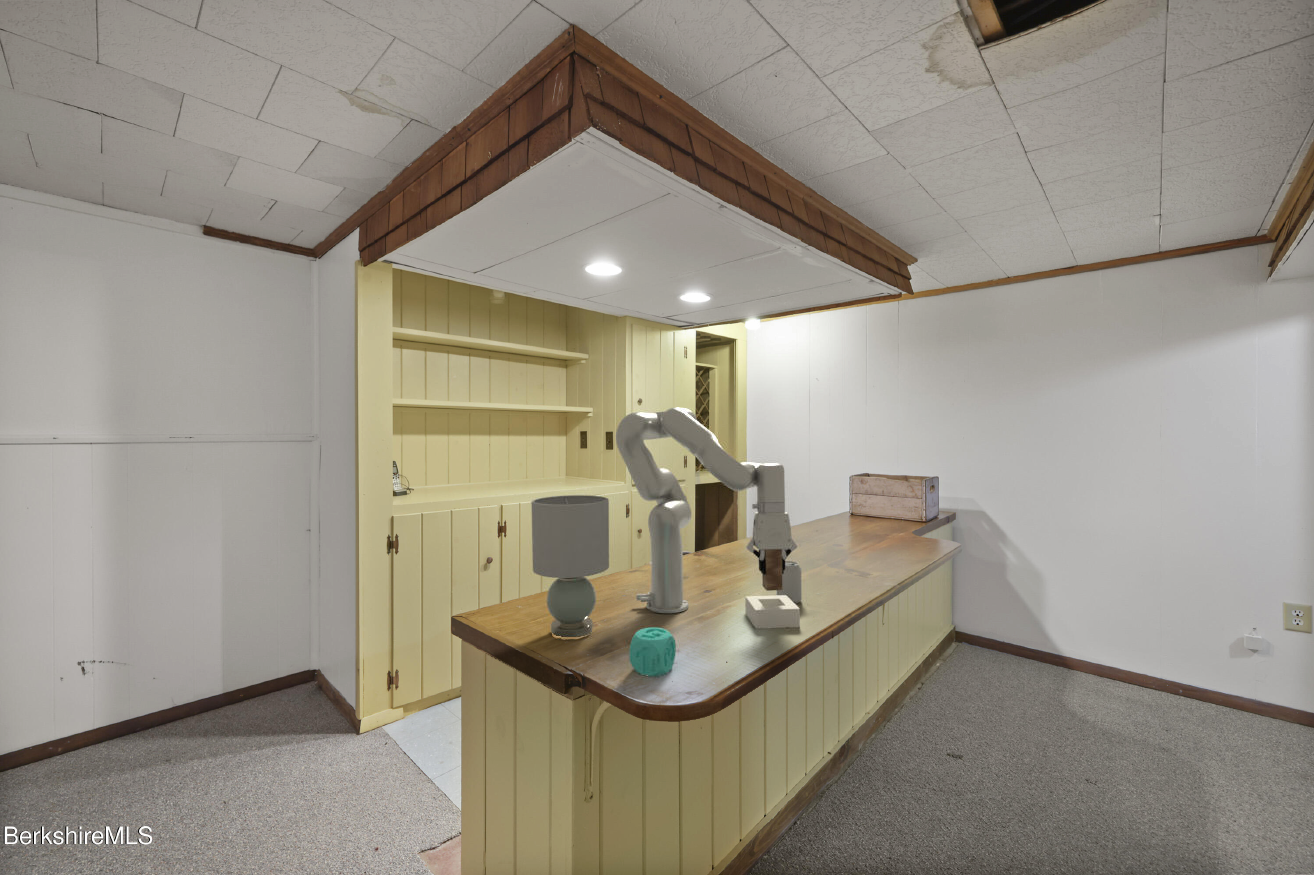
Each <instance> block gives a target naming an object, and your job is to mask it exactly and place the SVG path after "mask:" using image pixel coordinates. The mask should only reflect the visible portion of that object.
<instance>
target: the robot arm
mask: <svg viewBox="0 0 1314 875" xmlns="http://www.w3.org/2000/svg"><path fill="white" fill-rule="evenodd" d="M667 438H672V439H673V440H674V441H676V442H677V443H678V444H680V445H681V446H682V447H683V448H684V449H686V450H687V451H688V452H689V453H691V454H692V455H693V456H694V457H696V458H697V460H698V462H699V463H700V464H701V465H703V467H704V468H705V469H706V470H707V471H708V472H709V473H710V474H711V475H712V476H713V477H714V478H715V479H717V480H718V481H719V482H720V483H722V484H723V485H724V486H725V487H727V488H729V489H731V490H732V491H735V492H742V491H745V490H747V489H751V488H756V493H757V494H756V497H757V500H756V503H752V506H751V507H752V509H753V510H756V512H754V517H753V523H752V524H753V526H752V538H751V539H750V540H749V542H748V543H747V545H746V547H745V549H746V550H747V551H749V552H750V553H753V555H754V556H756V558H758V570H759V572H760V574H763V575H765V574H766V561H765V560H764V556H765V550H782V574H784V570H785V561H786V560H787V558H788V557H789V556H790V555H791V554H792V552H793V551H795V550H796V549H797V548H798V545H797V544H796V542H795V541H794V539H793V538H792V530H791V522H790V521H791V520H790V515H789V512H786V500H785V499H786V497H785V495H786V492H785V491H786V489H785V487H786V486H785V485H786V484H785V482H786V481H785V466H784V465H783V464H781V463H776V462H775V463H773V462H768V463H767V462H766V463H756V462H747V461H744V462H743V461H742V462H739V461H738V460H737V459H736V458H734V457H733V456H732V455H730V454H729V453H728V452H727V451H726V450H725V449H724V448H723V447H722V446H721V445H720V443H719V440H718V437H717V435H715V433H714V432H712V431H711V430H710V429H708V428H707V427H706V426H704V425H703V424H702V423H700V421H698V418H697V416H696V415H695V413H694V412H693V411H692V410H690V409H689V408H686V407H671V408H668V409H667V410H666V411H659V412H644V411H643V412H642V411H636V412H630V413H629V414H627V415H625V416H624V417H623V418H622V419H621V420H620V422H619V423H618V426H617V429H616V433H615V441H616V447H617V449H618V452H619V454H620V456H621V458H622V461H623V462H624V464H625V465H626V468H627V470H628V473H629V475H630V478H631V479H632V481H633V483H634V486H635V487H636V490H637V493H638V494H639V496H640V497H641V498H642V499H643V500H644V501H647V502H654V501H655V502H656V505H655V506H654V507H653V508H652V509H651V510H650V512H649V515H648V519H647V521H648V522H647V524H648V532H649V537H650V539H649V541H650V558H651V559H650V560H651V561H650V565H651V566H650V567H651V568H650V569H651V574H650V575H651V583H650V585H651V586H650V587H651V589H649V592H646V593H636V595H635V596H636V598H635V599H636V601H640V602H641V603H646V608H647V610H649V611H650V612H653V613H657V614H658V613H659V614H677V613H682V612H684V611H686V610H687V609H688V608H689V602H688V601H687V600H685V599H684V575H683V574H684V572H683V571H684V562H683V557H684V556H683V555H684V554H683V552H684V550H683V549H684V547H683V540H682V539H683V538H682V535H681V529H684V528H685V527H686V526H688V524H689V523H690V522H691V519H692V508H691V506H690V504H689V501H688V499H687V497H686V495H685V493H684V491H683V490H682V487H681V484H680V482H679V481H678V478H677V477H676V476H675V475H674V473H673V472H672V471H671V470H669V469H668V468H663V467H658V465H657V463H656V461H655V459H654V456H653V454H652V453H651V451H650V450H649V448H648V447H647V446H646V443H645V441H647V440H657V439H667ZM644 440H645V441H644ZM754 547H755V548H756V549H755V548H754Z"/></svg>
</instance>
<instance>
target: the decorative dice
mask: <svg viewBox="0 0 1314 875" xmlns="http://www.w3.org/2000/svg"><path fill="white" fill-rule="evenodd" d="M676 648H677V645H676V641H675V637H674V636H673V634H671V632H670V631H669V630H668V629H665V628H662V627H645V628H641V629H639V630H638V631H636V632H635V633H634V635H633V636H632V639H631V641H630V646H629V651H628V652H629V653H628V654H629V655H628V656H629V663H630V665H631V666H632V669H633V670H634V671H635V672H636V673H638V674H639V673H640V674H639V675H641V674H643V675H642V676H644V675H648V676H647V677H650V676H655V677H660V676H659V675H661V676H664V675H666V673H667V674H668V673H669V672H670V671H671V670H672V668H673V666H674V663H675V658H676V650H677V649H676Z"/></svg>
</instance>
